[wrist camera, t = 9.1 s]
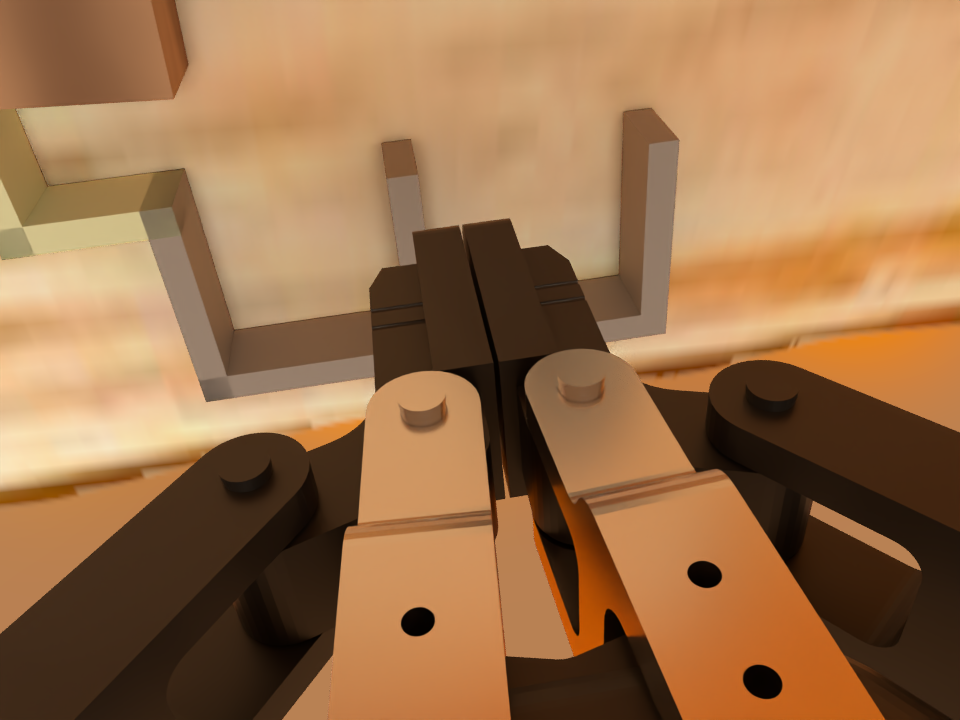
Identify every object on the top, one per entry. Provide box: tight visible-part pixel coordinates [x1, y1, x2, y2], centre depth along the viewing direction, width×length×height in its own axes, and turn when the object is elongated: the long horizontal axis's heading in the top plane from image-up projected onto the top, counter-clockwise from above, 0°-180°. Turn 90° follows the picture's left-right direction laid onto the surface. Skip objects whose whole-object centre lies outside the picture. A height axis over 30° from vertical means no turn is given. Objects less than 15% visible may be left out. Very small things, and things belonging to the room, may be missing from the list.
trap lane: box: [0, 108, 679, 402], centre depth 32 cm, size 28×21×4 cm
